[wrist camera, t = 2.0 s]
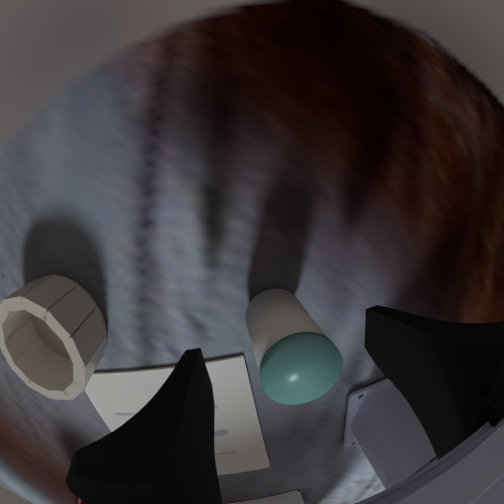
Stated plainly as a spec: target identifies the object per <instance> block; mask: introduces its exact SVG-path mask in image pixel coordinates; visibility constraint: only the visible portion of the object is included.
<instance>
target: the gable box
mask: <svg viewBox="0 0 504 504" xmlns="http://www.w3.org/2000/svg"><path fill="white" fill-rule="evenodd" d="M226 504H304V501H303V498H302V495H301V492H300V490H294V491H290V492H286V493H282V494H278V495H274V496H269V497H264V498H259V499H254V500H248V501H241V502H234V503H226Z"/></svg>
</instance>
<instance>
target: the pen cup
mask: <svg viewBox="0 0 504 504" xmlns="http://www.w3.org/2000/svg"><path fill="white" fill-rule="evenodd" d="M106 344H107V326H106V322H105V319H104V316H103V314H102V311H101V309H100V307H99V306H98V304H97V302H96V301H95V299H94V298H93V297H92V296H91V294H90V293H89V292H88V291H87V290H86V289H85V288H84V287H83V286H81V285H80V284H79V283H77V282H76V281H74V280H73V279H71V278H69V277H66V276H63V275H58V274H50V275H46V276H43V277H41V278H38V279H35V280H33V281H32V282H30V283H28V284H27V285H25V286H24V287H22V288H20V289H19V290H17V291H16V292H14V293H13V294H11V295H10V296H8V297H7V298H5V299H4V300H2V302H1V304H0V348H1V350H2V352H3V354H4V356H5V358H6V360H7V362H8V364H9V365H11V366H10V367H11V368H12V369H13V370H14V372H15V373H16V374H17V375H18V376H19V377H20V378H21V379H22V380H23V381H24V382H25V383H26V384H27V385H28V386H29V387H30V388H32V389H34V390H36V391H37V392H39V393H41V394H43V395H45V396H46V397H48V398H51V399H58V400H73V399H74V398H75V397H76V396H77V395H79V394H80V393H81V392H82V391H83V390H84V389H85V388H86V386H87V384H88V382H89V380H90V378H91V376H92V374H93V373H94V371H95V369H96V367H97V365H98V363H99V362H100V360H101V358H102V356H103V354H104V350H105V347H106Z"/></svg>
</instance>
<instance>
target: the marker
mask: <svg viewBox="0 0 504 504" xmlns="http://www.w3.org/2000/svg"><path fill="white" fill-rule="evenodd" d="M246 324H247V328H248V331H249V335H250V339H251V342H252V346H253V350H254V353H255V357H256V361H257V364H258V368H259V376H260V380H261V384H262V387H263V390H264V392H265V393H266V395H267V396H268V397H269V398H270V399H272V400H273V401H275V402H277V403H281V404H285V405H298V404H304V403H307V402H310V401H313V400H315V399H317V398H319V397H321V396H322V395H324V394H325V393H326V392H327V391H329V390H330V389H331V388H332V387H333V385H334V384H335V383H336V381H337V380H338V378H339V376H340V374H341V371H342V366H343V360H342V356H341V353H340V352H339V350H338V349H337V347H336V346H335V345H334V344H333V342H332V341H331V340H330V339H329V338H328V337H326V335H325V334H324V333H323V331H322V330H321V329H320V328H319V326H318V325H317V324H316V322H315V321H314V320H313V318H312V317H311V316H310V314H309V313H308V312H307V311H306V309H305V308H304V307H303V305H302V304H301V303H300V302H299V300H298V299H297V298H296V297H295V296H294V295H293V294H292V293H290V292H289V291H286V290H283V289H279V288H268V289H264V290H262V291H260V292H258V293H257V294H256V295H255V296H254V297H253V298H252V299H251V301H250V303H249V306H248V308H247V310H246Z"/></svg>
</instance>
